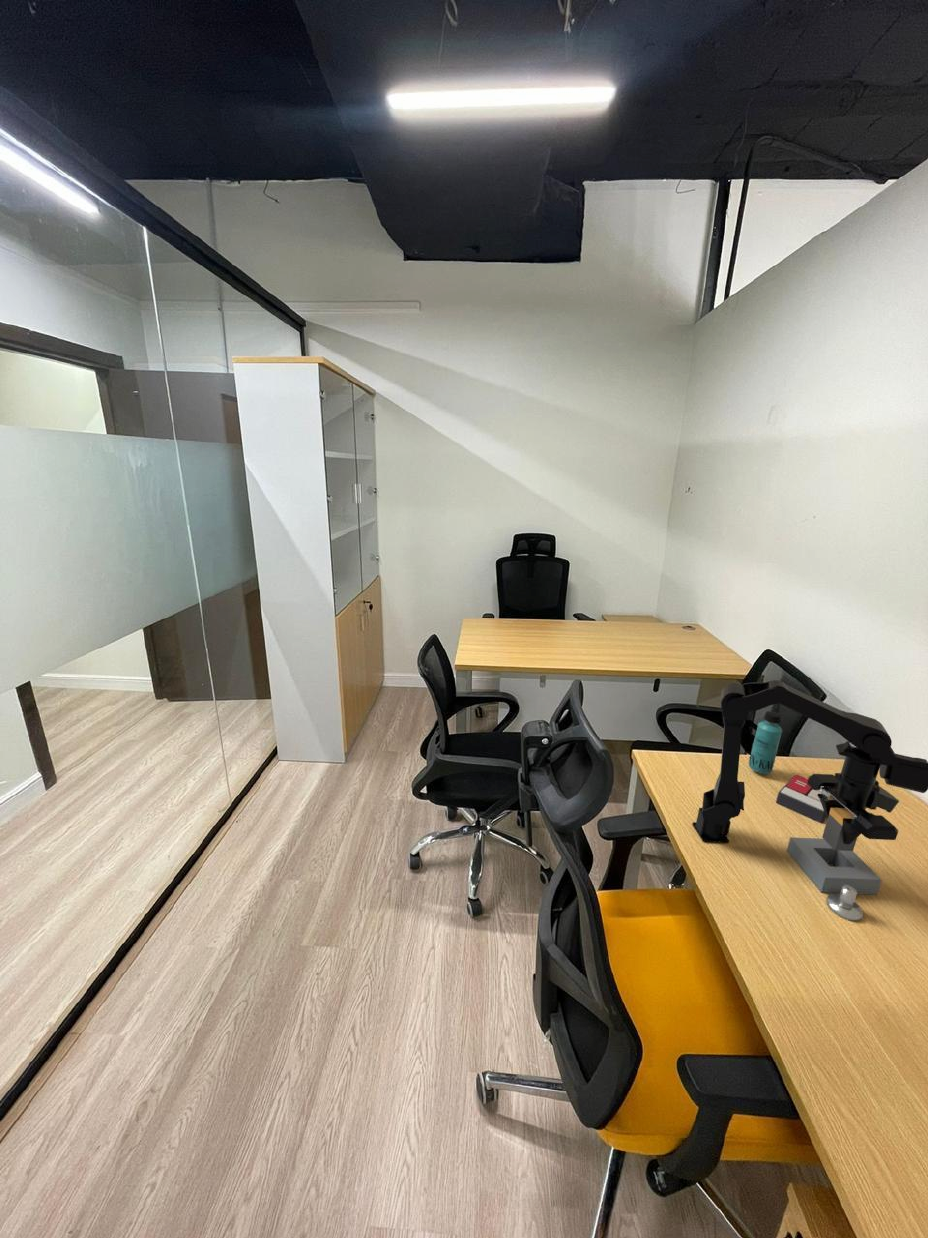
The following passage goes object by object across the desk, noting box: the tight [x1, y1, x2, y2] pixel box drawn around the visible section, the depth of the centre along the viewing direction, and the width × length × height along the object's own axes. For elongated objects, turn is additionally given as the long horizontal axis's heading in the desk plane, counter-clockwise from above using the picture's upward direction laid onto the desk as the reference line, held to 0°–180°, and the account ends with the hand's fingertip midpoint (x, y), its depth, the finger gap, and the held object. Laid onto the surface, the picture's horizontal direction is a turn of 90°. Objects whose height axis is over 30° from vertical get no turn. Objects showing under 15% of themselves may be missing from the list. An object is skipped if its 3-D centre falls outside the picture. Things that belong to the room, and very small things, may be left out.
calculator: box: [775, 774, 827, 825], centre depth 134 cm, size 11×4×15 cm
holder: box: [786, 836, 883, 895], centre depth 110 cm, size 12×12×4 cm
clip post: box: [825, 885, 864, 922], centre depth 100 cm, size 6×6×5 cm
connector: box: [821, 808, 858, 852], centre depth 107 cm, size 4×4×8 cm
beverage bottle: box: [748, 710, 783, 775], centre depth 145 cm, size 6×7×20 cm
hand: (839, 836), depth 107 cm, fingers closed on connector, 4 cm apart
